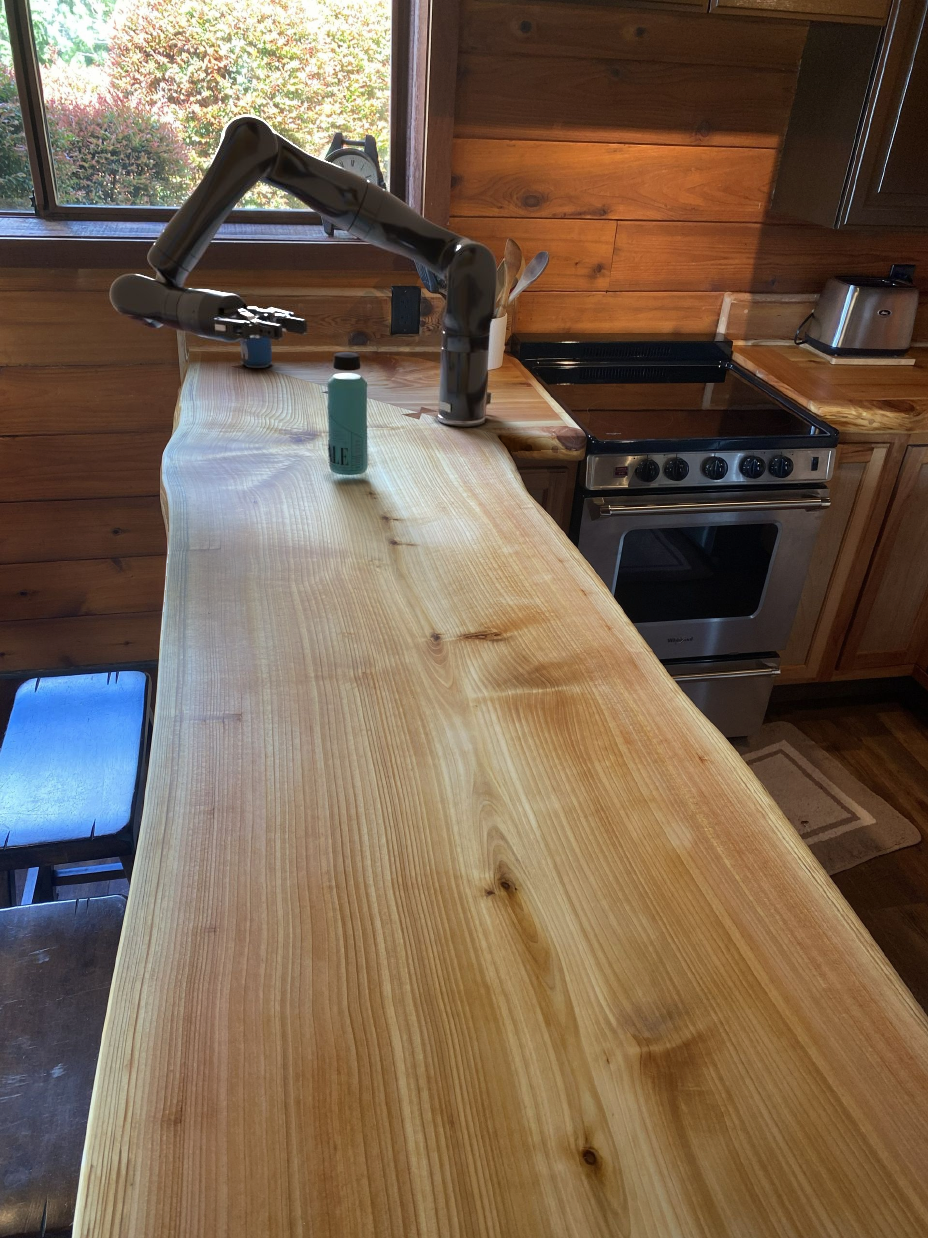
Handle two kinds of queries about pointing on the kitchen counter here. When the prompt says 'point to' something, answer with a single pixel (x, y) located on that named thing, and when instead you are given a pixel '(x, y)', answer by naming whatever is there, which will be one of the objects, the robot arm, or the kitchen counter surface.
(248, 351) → the soda can
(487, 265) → the robot arm
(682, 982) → the kitchen counter surface
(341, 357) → the beverage bottle
